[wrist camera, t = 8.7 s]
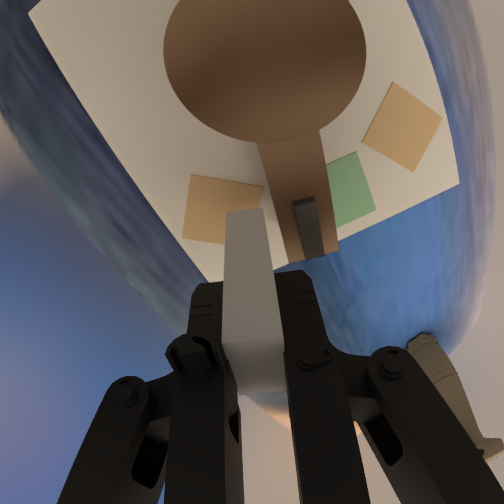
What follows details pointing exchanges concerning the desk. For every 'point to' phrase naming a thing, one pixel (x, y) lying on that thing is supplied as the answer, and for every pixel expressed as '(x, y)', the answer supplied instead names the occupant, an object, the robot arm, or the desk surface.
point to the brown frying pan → (273, 94)
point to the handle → (451, 390)
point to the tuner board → (243, 152)
